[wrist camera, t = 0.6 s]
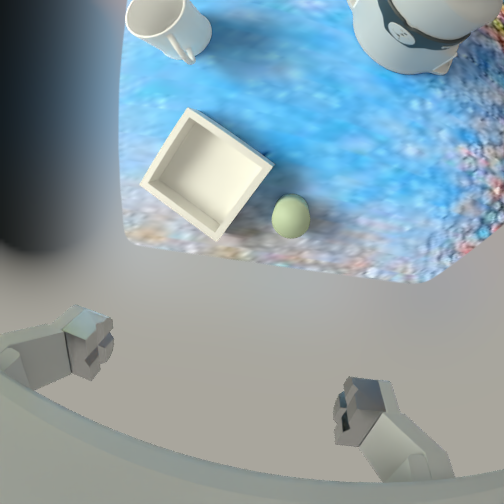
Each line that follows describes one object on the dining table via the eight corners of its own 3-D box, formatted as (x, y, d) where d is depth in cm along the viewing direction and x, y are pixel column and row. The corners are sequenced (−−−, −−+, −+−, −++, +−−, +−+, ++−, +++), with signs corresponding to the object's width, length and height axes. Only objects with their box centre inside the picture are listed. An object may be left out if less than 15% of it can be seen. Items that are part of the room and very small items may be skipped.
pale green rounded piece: (288, 186, 46) (287, 193, 41) (315, 207, 47) (318, 216, 41) (268, 213, 48) (264, 223, 42) (294, 233, 48) (294, 245, 43)
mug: (226, 64, 41) (205, 41, 30) (174, 86, 43) (139, 72, 32) (202, 4, 38) (176, -28, 27) (153, 27, 40) (117, 3, 29)
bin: (198, 110, 44) (187, 107, 39) (275, 164, 45) (272, 166, 41) (153, 180, 48) (139, 184, 44) (224, 232, 50) (216, 242, 45)
